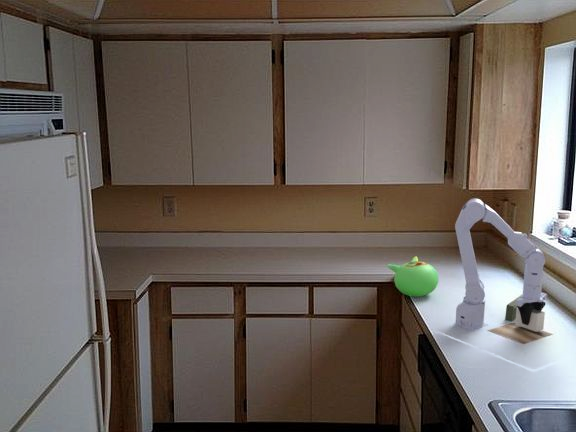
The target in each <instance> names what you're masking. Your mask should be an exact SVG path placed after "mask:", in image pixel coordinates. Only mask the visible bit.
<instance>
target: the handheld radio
mask: <svg viewBox="0 0 576 432" xmlns="http://www.w3.org/2000/svg"><path fill="white" fill-rule="evenodd" d="M522 295H523V293H522V294H521V295H519V296H518V297H515V299H513V300H512V301H511V302H509V303H508V304H506V308H505V316H504V317H505V318H504V320H505V321H509V322H515V321H516V309H517V308H518V307H517V305H515V302H516V299H518V298H520V297H521V296H522Z"/></svg>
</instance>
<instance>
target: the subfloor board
mask: <svg viewBox="0 0 576 432" xmlns="http://www.w3.org/2000/svg"><path fill="white" fill-rule="evenodd" d="M515 322H516V321H513V322H510V323H507V324H503V325H502V326H497V327H494V328H491V329H487V330H486V331H487V332H490V333H493V334H495V335H498V336H501V337H503V338H505V339H506V338H507V339H509V340H511V341H514V342H516V343H519V344H522V345H526V344H529V343H532V342H535V341H537V340H540V339H543V338H546V337H550V336H553V335H554V333H551V332H548V331H545V330H544V329H543V330H540V331H537V332H535V331H533V330H530V329H527V328H524V327H521V326H518V325H515Z"/></svg>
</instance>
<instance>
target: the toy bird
mask: <svg viewBox="0 0 576 432" xmlns="http://www.w3.org/2000/svg"><path fill="white" fill-rule="evenodd" d="M386 267H387V268H388V269H389V270H391V271H392V272H394V273H395V274H394V279H393V281H394V284H395V287H396V289H397V290H398V291H399V292H400V293H402V294H403V295H406V296H407V297H408V296H409V297H415V298H417V297H419V298H420V297H424V296H427V295H429V294H432V292H434V291H435V290H436V288H437V287H438V285H439V274H438V271H437V270H436V269H435V267H434V266H432V265H431V264H429V263H427V262H425V261H419V258H418V256H417V255H416V256H414V257H412V260H411V261H409V262H406V263H404V264H402V265H399V264H398V265H397V264H391V263H389V264H387V265H386Z"/></svg>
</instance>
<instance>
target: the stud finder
mask: <svg viewBox="0 0 576 432" xmlns="http://www.w3.org/2000/svg"><path fill="white" fill-rule="evenodd" d="M545 314H546V312H545V311H542V310H541V311H539V310H536V309H533V311H532V313H531V316H530V322H529V324H528V325H525V324H522V320H521V315H520V312H519V309H518V308H517V309H516V319H515V321H514V322H515V325H518V326H521V327H524V328H527V329H530V330H533V331H535V332H537V331H540V330H543V331H544V326H545Z"/></svg>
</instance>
